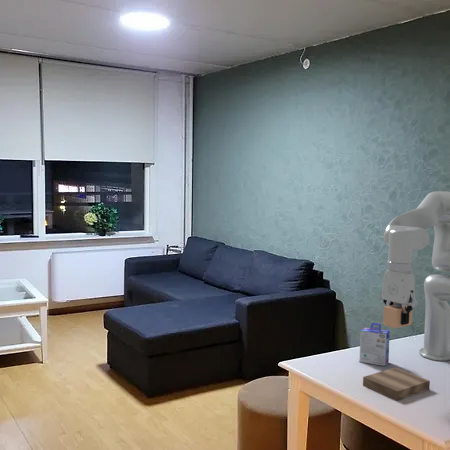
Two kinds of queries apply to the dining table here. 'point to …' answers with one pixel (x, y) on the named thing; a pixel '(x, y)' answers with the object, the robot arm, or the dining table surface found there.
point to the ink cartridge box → (374, 345)
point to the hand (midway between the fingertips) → (397, 321)
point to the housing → (394, 316)
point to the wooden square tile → (396, 383)
